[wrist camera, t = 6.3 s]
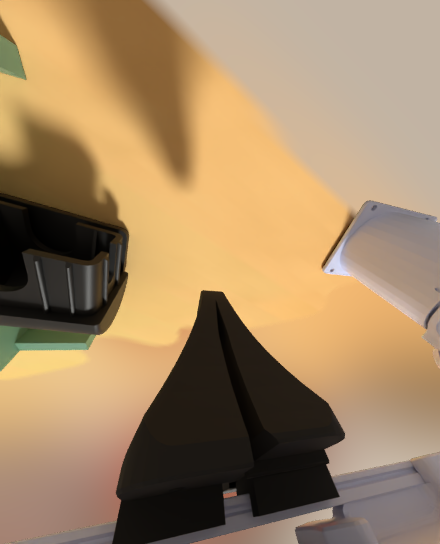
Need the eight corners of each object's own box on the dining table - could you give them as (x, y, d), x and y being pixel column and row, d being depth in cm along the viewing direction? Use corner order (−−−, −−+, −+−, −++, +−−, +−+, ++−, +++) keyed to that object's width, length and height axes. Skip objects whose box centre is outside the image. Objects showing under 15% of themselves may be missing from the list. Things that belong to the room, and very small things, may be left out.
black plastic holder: (3, 269, 14) (-117, 338, 9) (-25, 184, 11) (-247, 208, 5) (128, 292, 18) (98, 353, 12) (136, 231, 14) (99, 276, 9)
